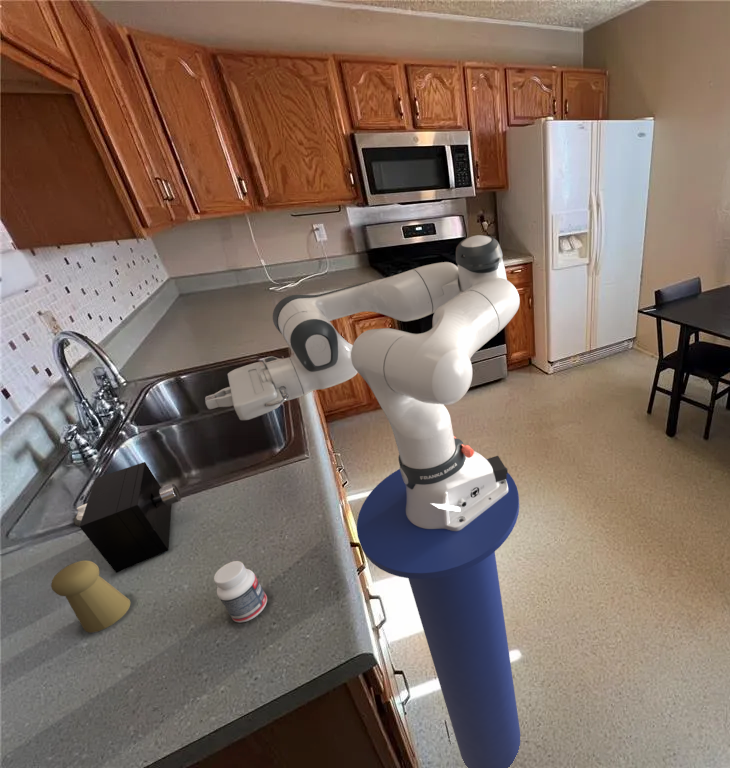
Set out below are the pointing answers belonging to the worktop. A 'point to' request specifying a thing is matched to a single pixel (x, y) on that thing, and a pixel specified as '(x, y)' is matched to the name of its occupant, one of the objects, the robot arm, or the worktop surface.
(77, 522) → the stove knob
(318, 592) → the worktop surface
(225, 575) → the pill bottle
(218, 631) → the worktop surface
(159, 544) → the control block
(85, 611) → the cork
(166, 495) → the push knob
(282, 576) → the worktop surface
